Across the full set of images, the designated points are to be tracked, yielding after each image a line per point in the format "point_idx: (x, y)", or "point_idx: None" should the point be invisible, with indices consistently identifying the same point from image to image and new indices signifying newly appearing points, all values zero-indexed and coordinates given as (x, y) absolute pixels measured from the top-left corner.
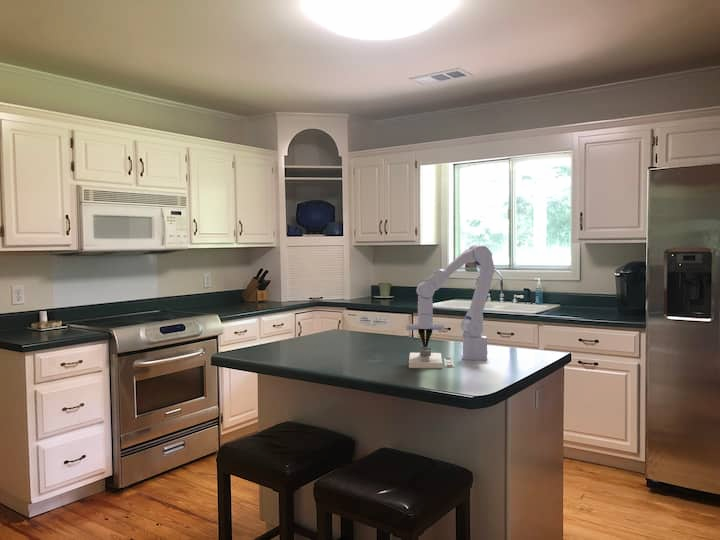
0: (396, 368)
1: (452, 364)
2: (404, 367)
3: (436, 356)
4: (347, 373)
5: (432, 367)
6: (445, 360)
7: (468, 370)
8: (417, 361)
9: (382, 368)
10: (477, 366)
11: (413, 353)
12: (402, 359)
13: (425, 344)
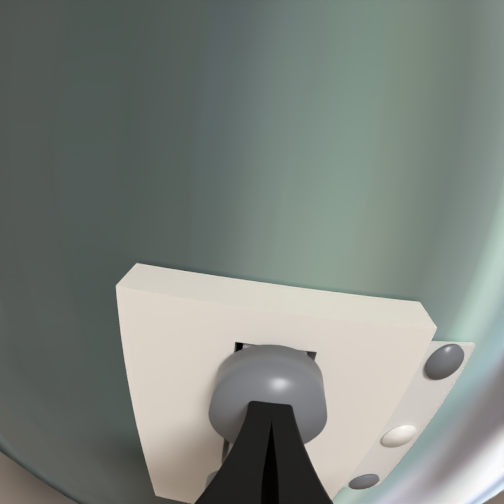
0: (110, 459)
1: (391, 465)
2: (140, 458)
3: (342, 438)
4: (5, 443)
5: None
6: (403, 402)
7: (409, 493)
8: (197, 497)
9: (60, 441)
10: (480, 448)
11: (151, 332)
12: (87, 300)
13: (270, 439)
